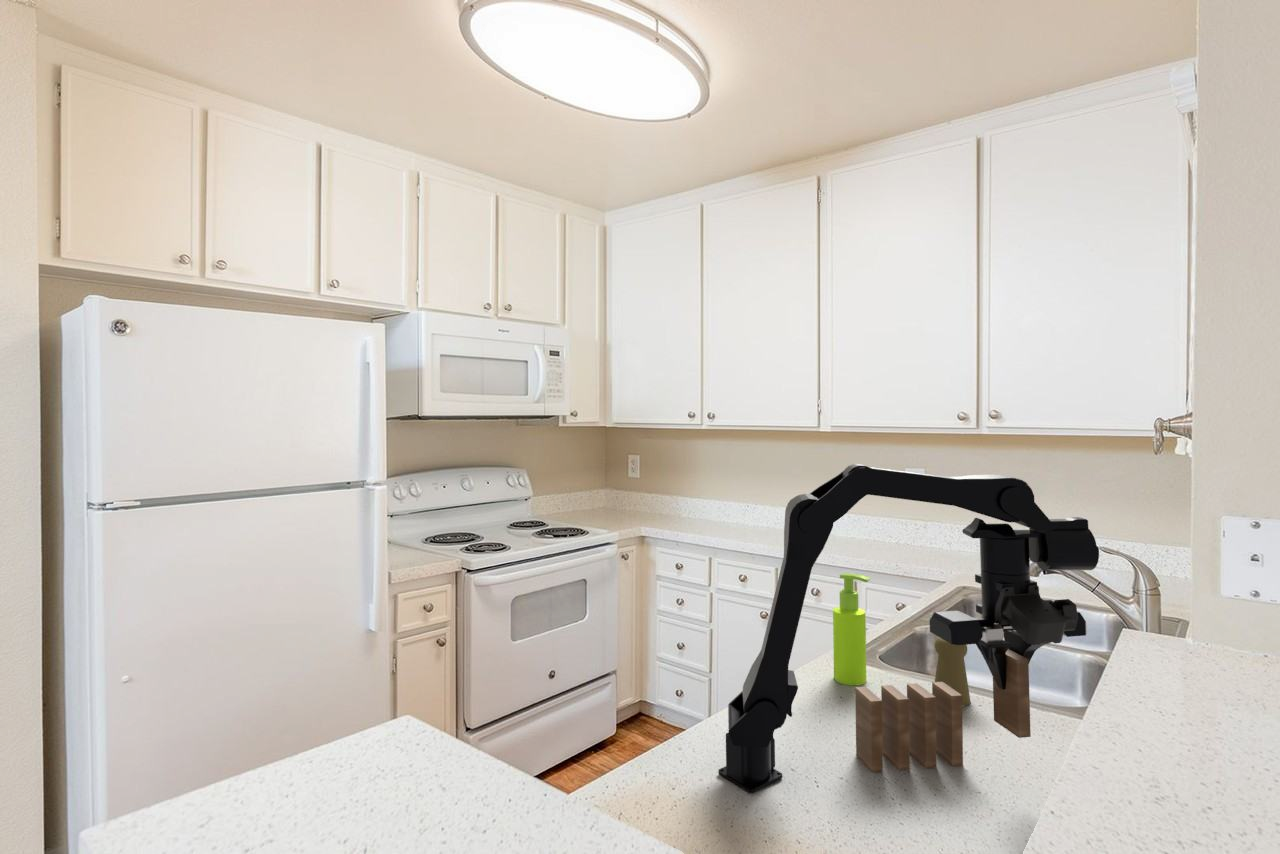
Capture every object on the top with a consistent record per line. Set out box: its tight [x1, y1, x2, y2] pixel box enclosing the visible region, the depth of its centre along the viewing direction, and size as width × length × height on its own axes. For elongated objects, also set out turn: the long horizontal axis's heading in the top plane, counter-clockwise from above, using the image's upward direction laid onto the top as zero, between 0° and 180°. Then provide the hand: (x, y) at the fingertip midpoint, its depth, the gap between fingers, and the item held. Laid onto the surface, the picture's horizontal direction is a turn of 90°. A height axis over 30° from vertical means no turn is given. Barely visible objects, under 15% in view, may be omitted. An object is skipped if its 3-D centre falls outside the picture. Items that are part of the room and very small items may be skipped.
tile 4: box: [931, 681, 964, 767], centre depth 97 cm, size 2×5×10 cm, turn 6°
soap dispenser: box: [832, 572, 872, 686], centre depth 126 cm, size 6×7×20 cm
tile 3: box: [906, 682, 938, 769], centre depth 97 cm, size 2×5×10 cm, turn 6°
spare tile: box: [992, 649, 1032, 739], centre depth 88 cm, size 2×5×10 cm, turn 6°
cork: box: [934, 636, 972, 707], centre depth 117 cm, size 6×6×11 cm
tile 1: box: [854, 686, 884, 773], centre depth 96 cm, size 2×5×10 cm, turn 7°
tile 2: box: [880, 684, 911, 771], centre depth 96 cm, size 2×5×10 cm, turn 7°
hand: (1008, 688), depth 88 cm, fingers closed on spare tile, 2 cm apart
